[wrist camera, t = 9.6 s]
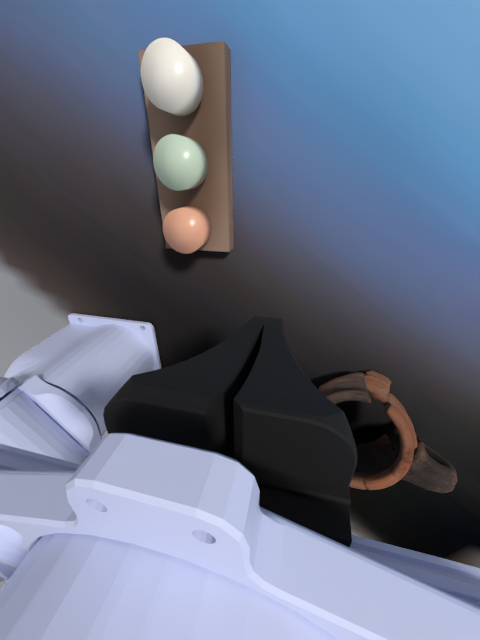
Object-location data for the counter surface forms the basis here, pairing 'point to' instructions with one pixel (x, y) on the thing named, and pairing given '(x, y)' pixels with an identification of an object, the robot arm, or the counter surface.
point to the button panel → (203, 144)
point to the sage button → (180, 162)
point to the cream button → (171, 77)
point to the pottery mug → (380, 456)
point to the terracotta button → (187, 229)
